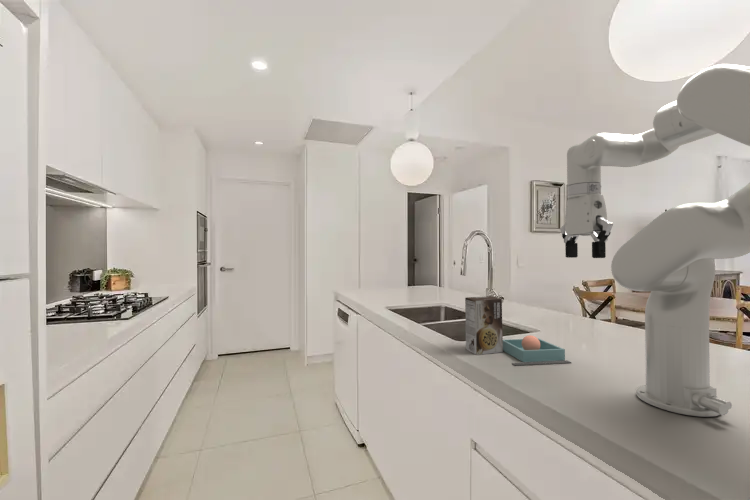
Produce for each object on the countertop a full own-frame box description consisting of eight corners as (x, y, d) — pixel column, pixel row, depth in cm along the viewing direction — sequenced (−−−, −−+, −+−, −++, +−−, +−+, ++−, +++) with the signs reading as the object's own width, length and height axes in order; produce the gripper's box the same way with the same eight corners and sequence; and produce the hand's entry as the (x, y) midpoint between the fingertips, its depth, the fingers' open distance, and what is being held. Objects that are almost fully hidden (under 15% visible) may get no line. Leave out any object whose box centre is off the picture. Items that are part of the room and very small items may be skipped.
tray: (564, 360, 94) (564, 349, 94) (523, 362, 93) (523, 351, 93) (538, 348, 106) (538, 338, 106) (501, 349, 105) (501, 339, 105)
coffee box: (490, 347, 108) (490, 295, 108) (503, 352, 102) (503, 298, 102) (464, 349, 105) (464, 296, 106) (476, 355, 99) (475, 299, 99)
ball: (544, 354, 97) (543, 336, 98) (528, 355, 97) (527, 337, 97) (534, 350, 102) (533, 333, 102) (518, 351, 102) (517, 334, 102)
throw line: (571, 363, 91) (571, 362, 91) (514, 366, 90) (514, 364, 90) (567, 361, 93) (567, 360, 93) (511, 364, 91) (511, 363, 91)
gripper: (624, 186, 81) (625, 258, 81) (574, 197, 98) (574, 257, 98) (595, 185, 80) (596, 258, 80) (549, 197, 97) (550, 257, 97)
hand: (584, 257), depth 89 cm, fingers open, 9 cm apart
